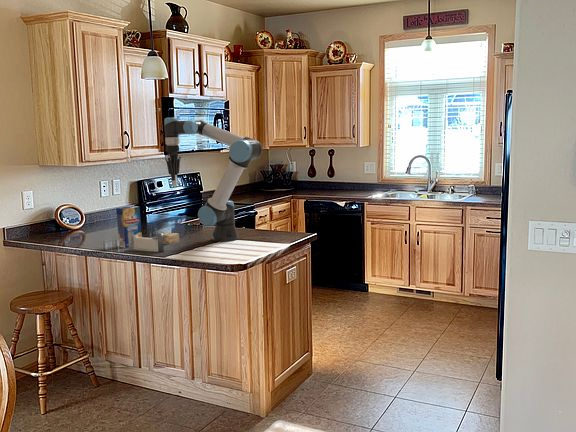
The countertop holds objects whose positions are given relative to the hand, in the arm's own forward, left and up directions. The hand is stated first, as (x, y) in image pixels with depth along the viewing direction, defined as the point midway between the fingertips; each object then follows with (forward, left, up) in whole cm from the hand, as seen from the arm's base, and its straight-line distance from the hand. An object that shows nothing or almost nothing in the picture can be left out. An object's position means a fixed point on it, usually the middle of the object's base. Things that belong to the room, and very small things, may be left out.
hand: (174, 186), depth 336 cm
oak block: (+3, +4, -33) cm, 33 cm away
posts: (+1, +28, -32) cm, 43 cm away
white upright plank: (+2, +28, -32) cm, 42 cm away
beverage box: (+20, +18, -33) cm, 42 cm away
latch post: (+12, +28, -32) cm, 44 cm away
